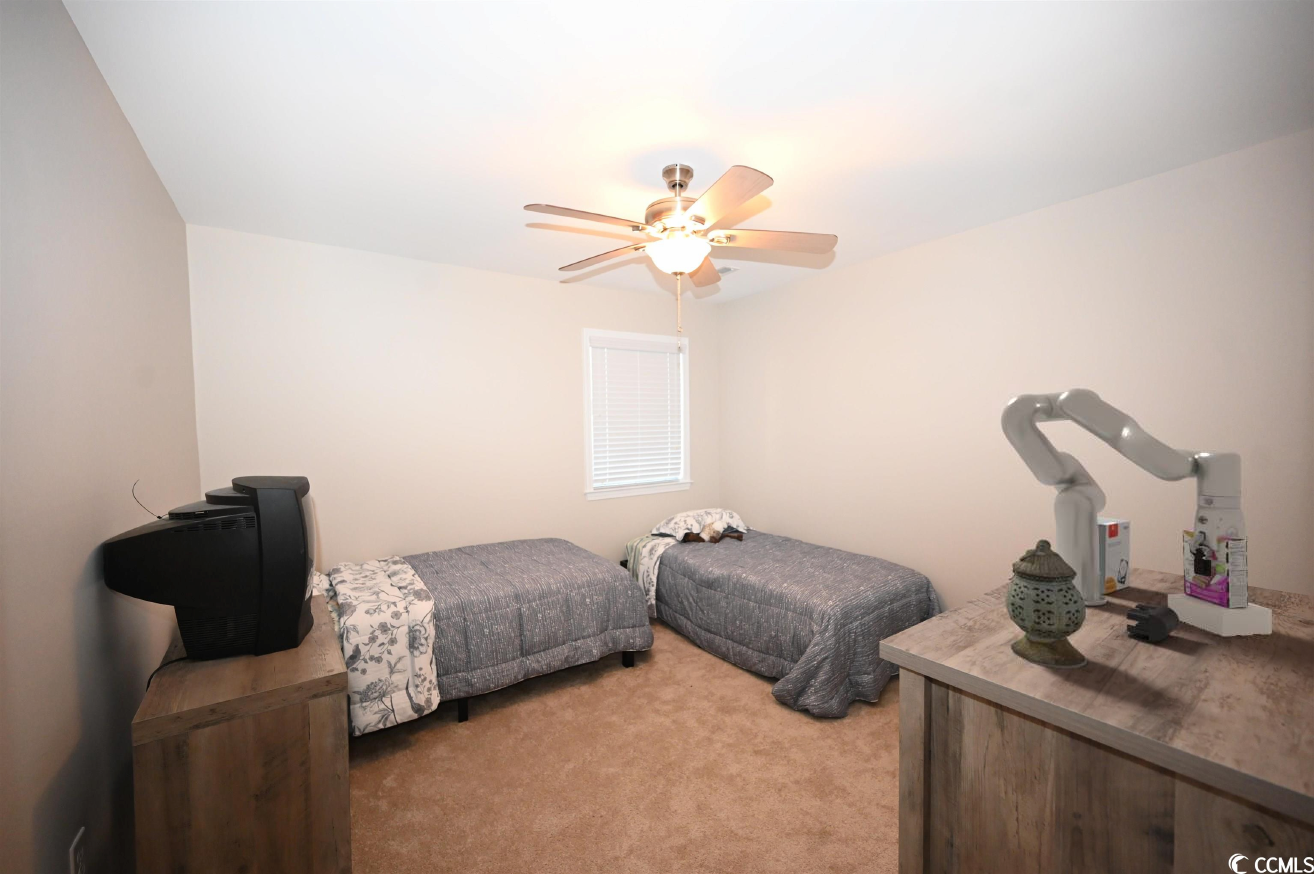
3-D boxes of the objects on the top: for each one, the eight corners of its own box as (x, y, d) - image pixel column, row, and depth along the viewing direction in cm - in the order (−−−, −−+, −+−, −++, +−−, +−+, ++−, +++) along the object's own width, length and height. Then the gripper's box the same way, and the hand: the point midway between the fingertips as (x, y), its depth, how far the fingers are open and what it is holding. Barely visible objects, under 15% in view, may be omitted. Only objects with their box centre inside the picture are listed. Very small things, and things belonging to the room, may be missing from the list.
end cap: (1166, 648, 123) (1166, 617, 123) (1126, 638, 129) (1126, 609, 128) (1179, 637, 129) (1179, 607, 128) (1140, 628, 134) (1140, 600, 134)
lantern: (1046, 672, 113) (1045, 549, 112) (991, 645, 127) (990, 535, 126) (1104, 664, 115) (1103, 544, 115) (1043, 638, 129) (1043, 531, 129)
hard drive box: (1105, 595, 158) (1104, 525, 158) (1074, 588, 165) (1073, 521, 164) (1130, 586, 166) (1130, 519, 165) (1100, 580, 172) (1100, 516, 172)
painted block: (1222, 637, 128) (1222, 612, 128) (1167, 618, 141) (1167, 594, 141) (1271, 635, 129) (1271, 609, 129) (1212, 615, 142) (1212, 592, 142)
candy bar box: (1182, 594, 141) (1180, 529, 140) (1201, 593, 141) (1200, 528, 140) (1228, 609, 129) (1227, 539, 129) (1249, 608, 129) (1248, 538, 129)
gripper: (1209, 507, 128) (1208, 580, 129) (1265, 502, 132) (1264, 574, 133) (1172, 502, 136) (1172, 572, 136) (1226, 498, 139) (1226, 566, 140)
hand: (1218, 573), depth 134 cm, fingers open, 9 cm apart
